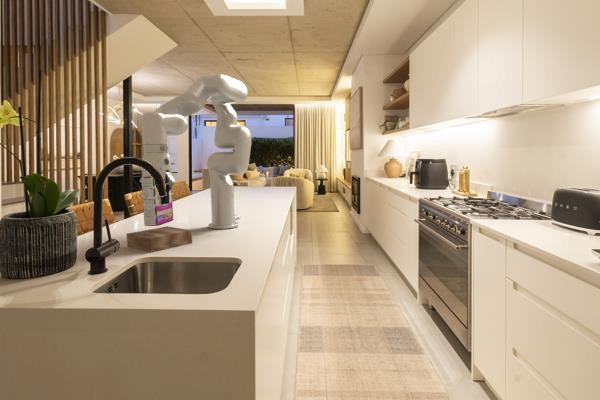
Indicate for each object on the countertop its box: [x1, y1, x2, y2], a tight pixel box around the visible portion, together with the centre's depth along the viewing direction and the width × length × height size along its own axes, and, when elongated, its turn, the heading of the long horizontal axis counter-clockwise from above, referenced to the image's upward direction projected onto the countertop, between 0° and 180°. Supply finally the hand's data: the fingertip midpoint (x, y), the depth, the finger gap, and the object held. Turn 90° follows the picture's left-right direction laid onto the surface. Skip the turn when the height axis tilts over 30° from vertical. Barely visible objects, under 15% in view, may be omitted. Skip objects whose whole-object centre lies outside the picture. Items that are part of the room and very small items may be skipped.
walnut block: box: [126, 226, 193, 253], centre depth 142 cm, size 16×14×5 cm
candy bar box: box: [140, 176, 174, 227], centre depth 140 cm, size 11×5×16 cm, turn 168°
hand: (158, 202), depth 140 cm, fingers closed on candy bar box, 6 cm apart
